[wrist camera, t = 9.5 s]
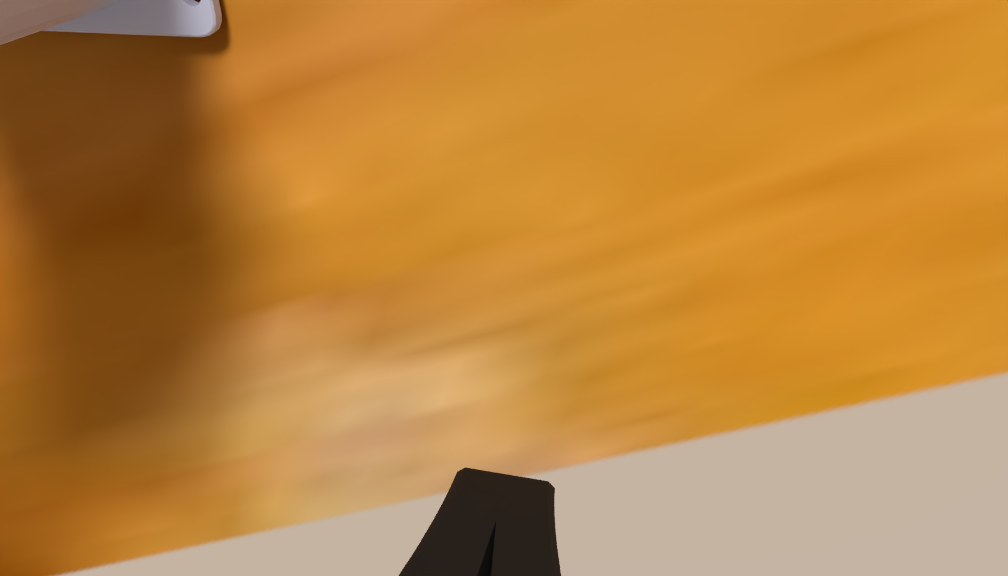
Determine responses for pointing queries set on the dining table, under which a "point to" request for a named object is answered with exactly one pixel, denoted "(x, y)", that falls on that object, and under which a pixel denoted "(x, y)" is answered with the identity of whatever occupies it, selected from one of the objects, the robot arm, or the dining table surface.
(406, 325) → the dining table surface
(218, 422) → the dining table surface
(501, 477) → the robot arm
